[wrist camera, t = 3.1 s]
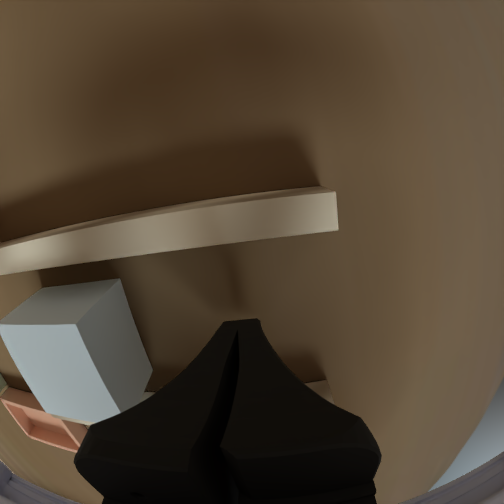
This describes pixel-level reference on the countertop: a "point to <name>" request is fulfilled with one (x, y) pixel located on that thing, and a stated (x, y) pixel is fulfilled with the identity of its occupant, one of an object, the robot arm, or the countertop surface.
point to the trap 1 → (42, 421)
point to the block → (79, 349)
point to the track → (177, 235)
